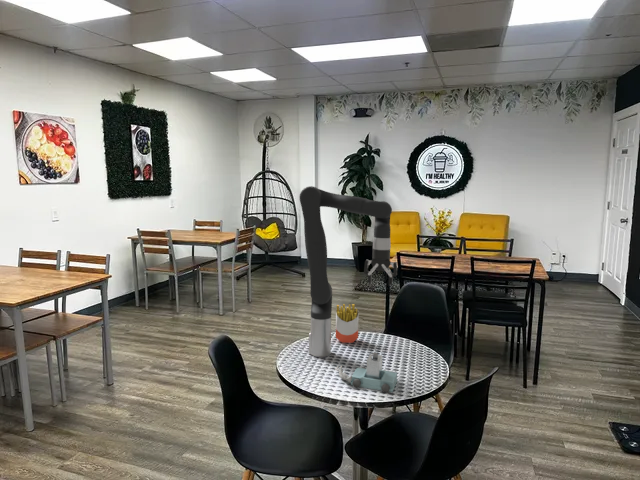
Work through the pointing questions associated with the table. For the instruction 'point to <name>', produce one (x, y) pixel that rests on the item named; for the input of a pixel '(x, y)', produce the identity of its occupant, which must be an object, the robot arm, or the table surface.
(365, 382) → the chassis
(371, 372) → the knobbed metal block
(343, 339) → the french fries container
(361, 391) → the table surface
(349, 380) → the soldier figure
